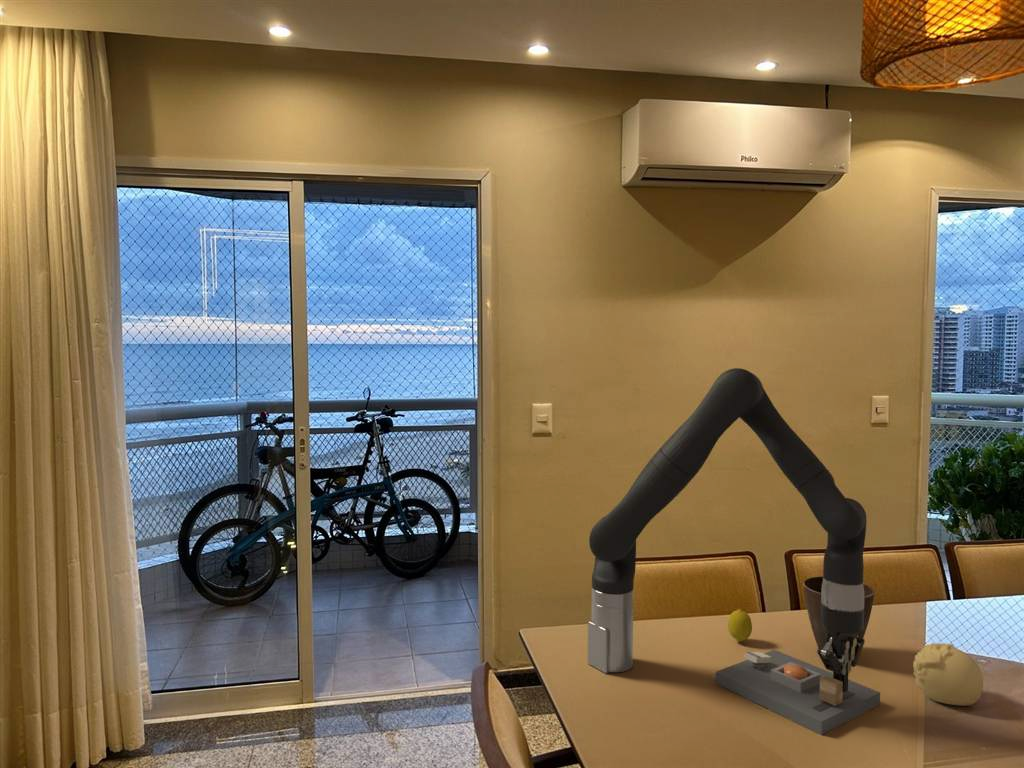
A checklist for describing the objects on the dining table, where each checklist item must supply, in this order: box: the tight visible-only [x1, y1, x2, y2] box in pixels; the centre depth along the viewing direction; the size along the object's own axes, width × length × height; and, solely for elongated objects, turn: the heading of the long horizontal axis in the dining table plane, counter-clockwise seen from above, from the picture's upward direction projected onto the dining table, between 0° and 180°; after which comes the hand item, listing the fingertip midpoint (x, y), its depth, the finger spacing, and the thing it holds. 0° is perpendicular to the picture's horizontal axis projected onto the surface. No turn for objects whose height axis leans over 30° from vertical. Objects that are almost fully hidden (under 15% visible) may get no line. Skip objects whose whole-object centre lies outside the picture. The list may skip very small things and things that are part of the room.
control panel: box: [715, 649, 881, 736], centre depth 141 cm, size 20×24×4 cm
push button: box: [784, 665, 807, 680], centre depth 141 cm, size 4×4×2 cm
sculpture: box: [912, 642, 984, 707], centre depth 139 cm, size 12×12×11 cm
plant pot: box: [802, 575, 875, 649], centre depth 159 cm, size 15×15×16 cm
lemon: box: [727, 608, 753, 643], centre depth 166 cm, size 6×6×8 cm
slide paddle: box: [819, 676, 843, 706], centre depth 132 cm, size 2×3×4 cm
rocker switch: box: [744, 651, 771, 663], centre depth 148 cm, size 5×3×1 cm, turn 124°
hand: (840, 690), depth 134 cm, fingers closed
